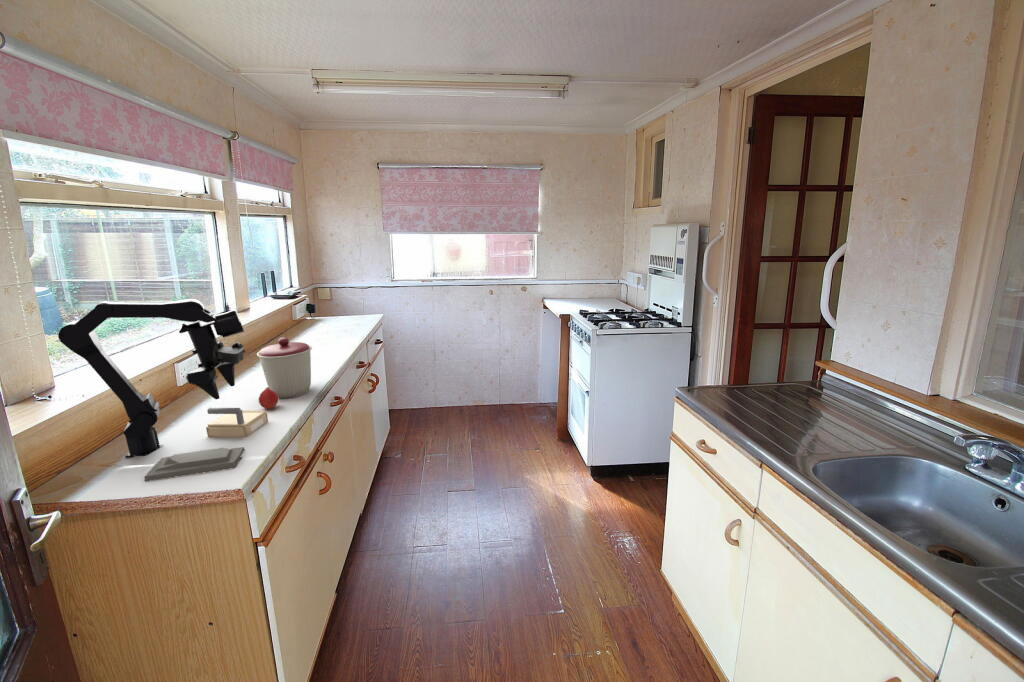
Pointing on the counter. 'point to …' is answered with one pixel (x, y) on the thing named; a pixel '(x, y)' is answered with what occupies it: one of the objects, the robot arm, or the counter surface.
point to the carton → (237, 429)
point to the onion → (268, 398)
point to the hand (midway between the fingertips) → (225, 392)
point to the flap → (234, 416)
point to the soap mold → (195, 463)
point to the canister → (287, 367)
